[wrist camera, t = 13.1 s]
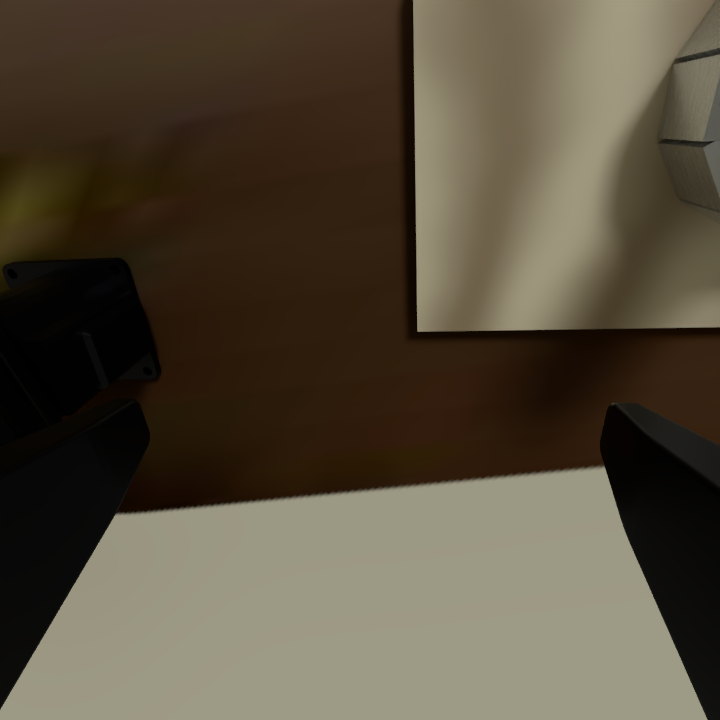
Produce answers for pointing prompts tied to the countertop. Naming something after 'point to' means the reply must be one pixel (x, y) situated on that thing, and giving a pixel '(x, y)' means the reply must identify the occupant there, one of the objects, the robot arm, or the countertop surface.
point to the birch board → (553, 169)
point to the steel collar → (695, 119)
